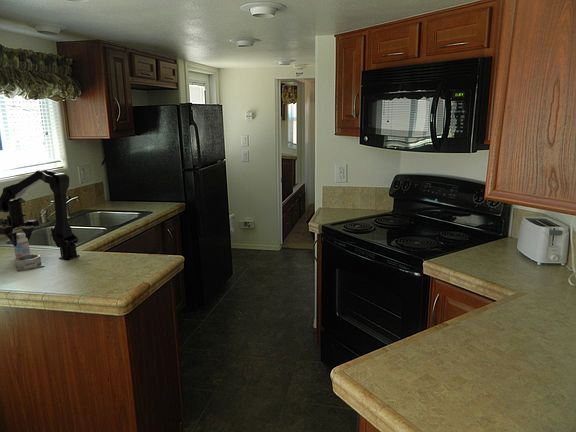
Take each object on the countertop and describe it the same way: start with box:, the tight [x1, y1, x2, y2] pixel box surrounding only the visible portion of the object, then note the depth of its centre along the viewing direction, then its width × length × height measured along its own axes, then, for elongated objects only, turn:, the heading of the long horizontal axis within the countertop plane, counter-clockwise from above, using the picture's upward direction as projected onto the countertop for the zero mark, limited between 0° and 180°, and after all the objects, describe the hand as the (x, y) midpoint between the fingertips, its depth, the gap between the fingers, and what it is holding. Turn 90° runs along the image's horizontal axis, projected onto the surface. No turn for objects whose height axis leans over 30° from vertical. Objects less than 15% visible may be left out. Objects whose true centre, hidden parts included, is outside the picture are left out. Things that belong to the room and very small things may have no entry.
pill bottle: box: [13, 232, 31, 259], centre depth 203 cm, size 6×6×11 cm
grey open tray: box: [15, 253, 45, 272], centre depth 191 cm, size 14×10×4 cm
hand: (21, 244), depth 203 cm, fingers closed on pill bottle, 6 cm apart
